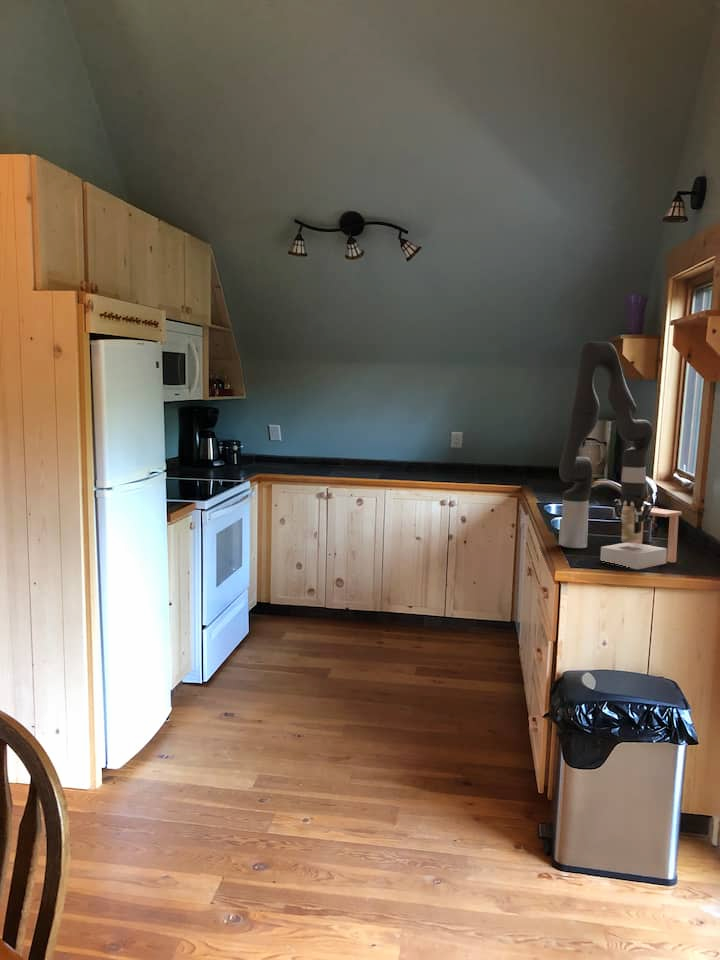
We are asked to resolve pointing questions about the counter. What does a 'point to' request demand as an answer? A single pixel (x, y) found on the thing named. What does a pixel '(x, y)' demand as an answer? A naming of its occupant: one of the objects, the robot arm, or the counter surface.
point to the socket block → (634, 555)
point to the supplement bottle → (647, 530)
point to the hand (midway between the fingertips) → (630, 532)
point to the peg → (629, 525)
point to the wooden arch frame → (672, 530)
